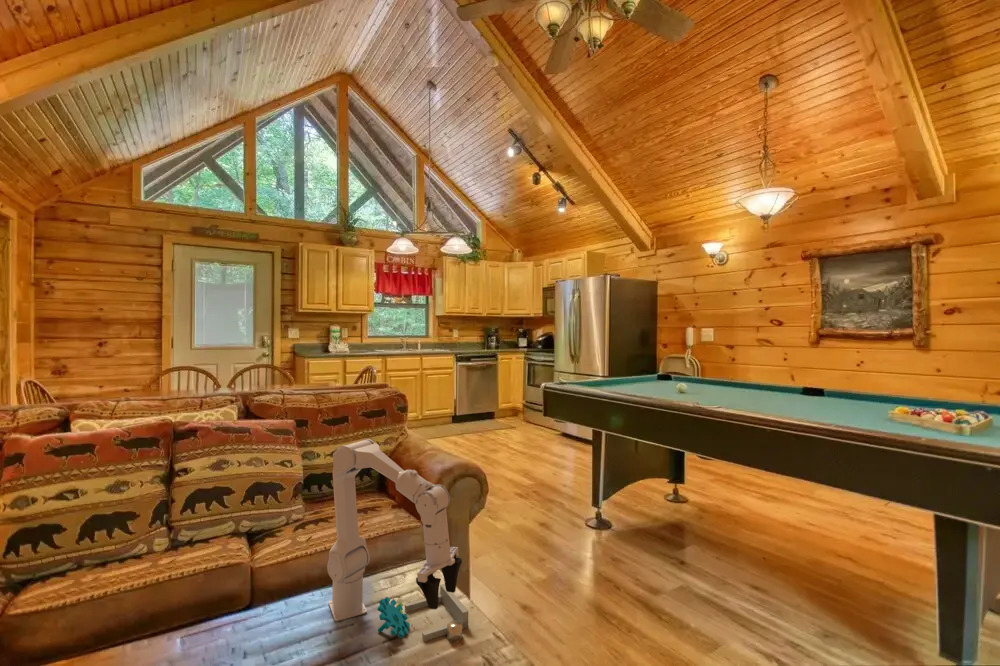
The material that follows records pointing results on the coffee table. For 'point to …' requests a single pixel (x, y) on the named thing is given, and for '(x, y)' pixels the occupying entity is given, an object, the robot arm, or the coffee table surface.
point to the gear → (393, 617)
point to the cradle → (452, 605)
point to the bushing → (454, 631)
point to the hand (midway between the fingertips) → (442, 599)
